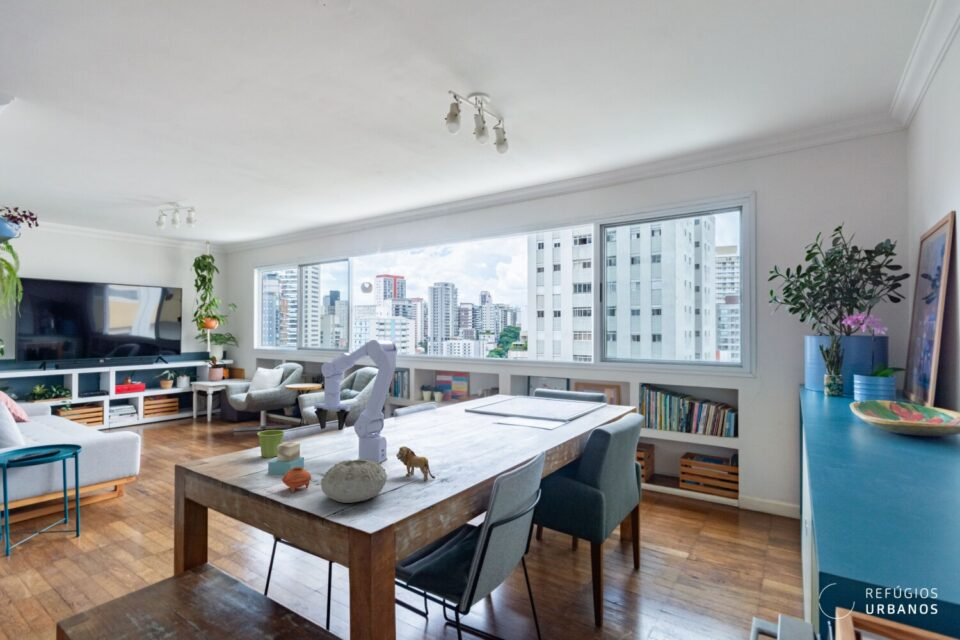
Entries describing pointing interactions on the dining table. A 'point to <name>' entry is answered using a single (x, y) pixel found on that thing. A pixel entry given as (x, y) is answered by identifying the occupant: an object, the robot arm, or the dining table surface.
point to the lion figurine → (413, 462)
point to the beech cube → (288, 451)
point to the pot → (296, 478)
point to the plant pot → (270, 442)
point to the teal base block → (284, 466)
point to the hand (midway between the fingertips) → (331, 429)
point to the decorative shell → (354, 480)
